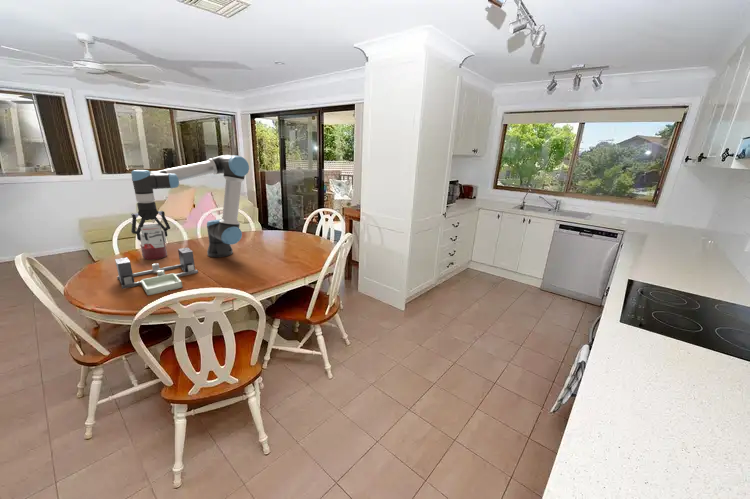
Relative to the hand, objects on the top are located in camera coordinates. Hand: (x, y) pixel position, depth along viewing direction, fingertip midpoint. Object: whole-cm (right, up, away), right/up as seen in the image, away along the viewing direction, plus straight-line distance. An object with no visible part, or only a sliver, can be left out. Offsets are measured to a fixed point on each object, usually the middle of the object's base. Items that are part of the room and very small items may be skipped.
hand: (154, 244), depth 163 cm
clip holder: (-1, -17, +5) cm, 18 cm away
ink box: (0, -2, 0) cm, 2 cm away
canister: (-23, -8, +33) cm, 41 cm away
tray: (+9, -22, -7) cm, 24 cm away
